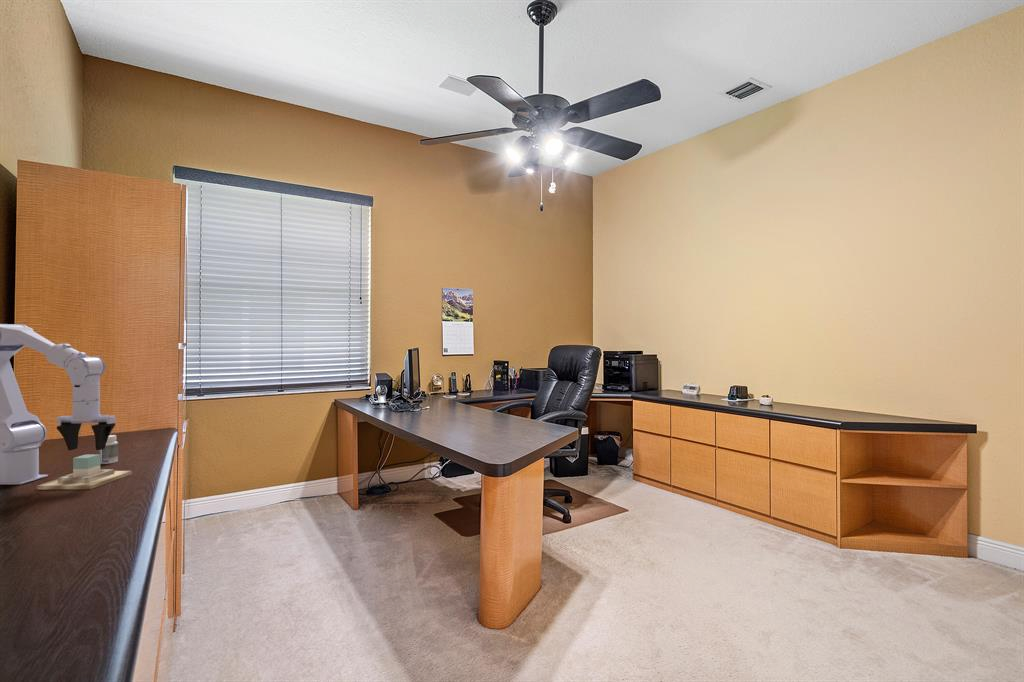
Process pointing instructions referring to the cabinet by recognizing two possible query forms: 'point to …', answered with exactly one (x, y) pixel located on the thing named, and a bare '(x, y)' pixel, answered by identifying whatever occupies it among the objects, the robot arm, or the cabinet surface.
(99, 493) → the cabinet surface
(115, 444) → the pill bottle
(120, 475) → the base plate
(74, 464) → the teal and cream block
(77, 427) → the robot arm
